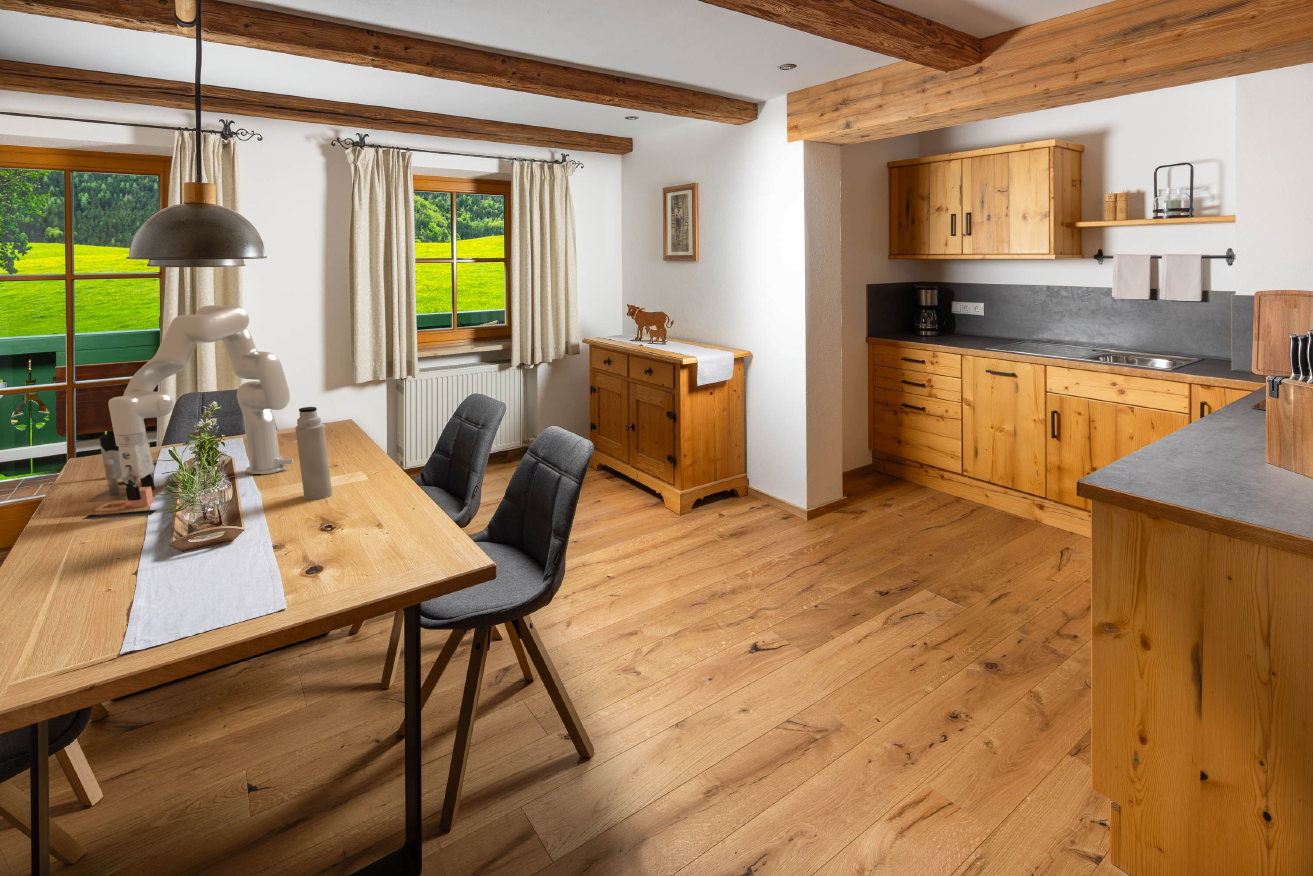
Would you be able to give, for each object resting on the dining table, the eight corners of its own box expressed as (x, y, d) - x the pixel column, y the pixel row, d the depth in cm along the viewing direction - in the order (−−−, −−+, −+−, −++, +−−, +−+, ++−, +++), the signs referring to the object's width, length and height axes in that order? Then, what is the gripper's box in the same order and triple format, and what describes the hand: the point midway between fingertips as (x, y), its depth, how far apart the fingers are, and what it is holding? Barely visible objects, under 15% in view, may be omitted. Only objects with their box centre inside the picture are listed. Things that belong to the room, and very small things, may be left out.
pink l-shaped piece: (156, 503, 222) (153, 484, 221) (146, 511, 215) (142, 492, 214) (106, 507, 219) (103, 488, 218) (94, 515, 212) (90, 495, 211)
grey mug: (108, 476, 255) (100, 433, 251) (157, 471, 260) (150, 429, 257) (101, 482, 247) (93, 439, 243) (151, 477, 252) (144, 434, 249)
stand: (170, 489, 238) (164, 452, 235) (154, 502, 225) (147, 462, 222) (107, 494, 234) (100, 456, 231) (86, 507, 221) (78, 467, 218)
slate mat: (166, 502, 225) (166, 501, 225) (150, 515, 213) (150, 513, 213) (103, 507, 221) (103, 505, 221) (83, 520, 210) (82, 518, 209)
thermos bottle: (310, 492, 234) (299, 405, 227) (336, 491, 234) (326, 405, 228) (299, 499, 226) (288, 410, 220) (326, 499, 226) (315, 409, 220)
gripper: (132, 444, 206) (143, 502, 210) (157, 431, 222) (167, 485, 226) (102, 446, 204) (113, 505, 208) (129, 433, 221) (140, 487, 225)
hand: (141, 494), depth 217 cm, fingers open, 9 cm apart
